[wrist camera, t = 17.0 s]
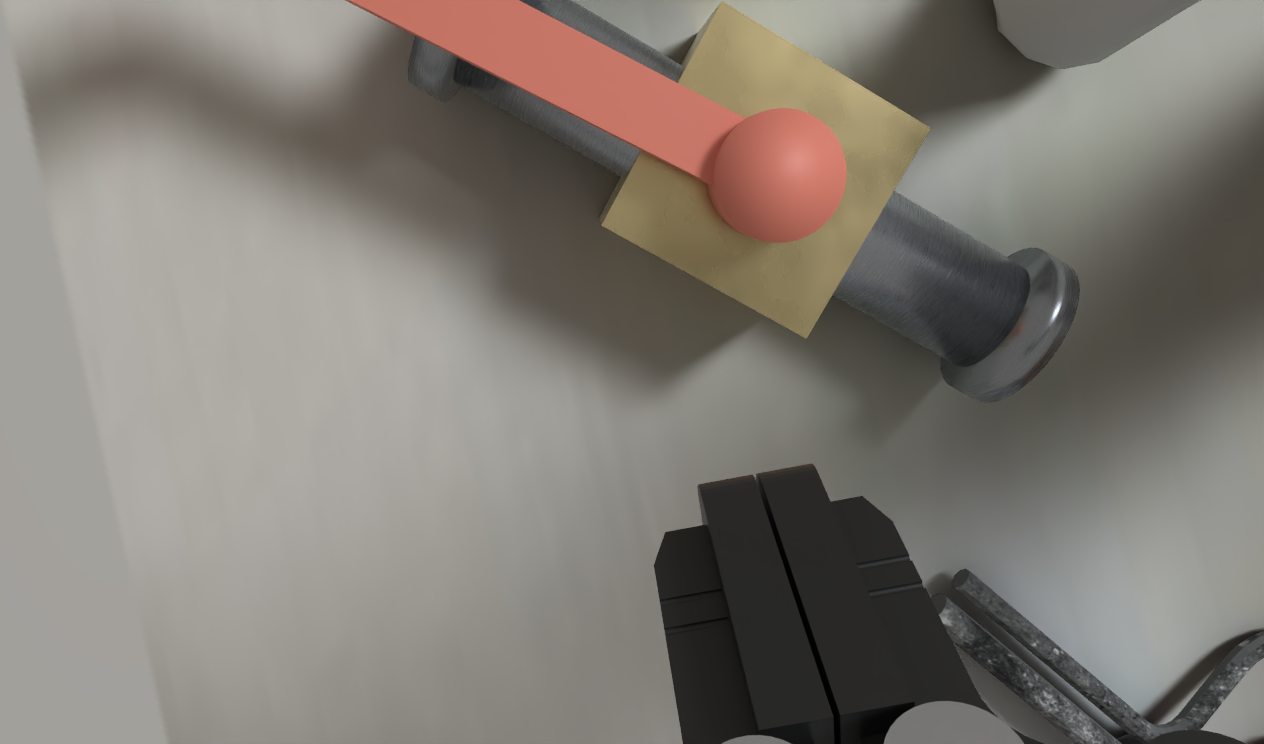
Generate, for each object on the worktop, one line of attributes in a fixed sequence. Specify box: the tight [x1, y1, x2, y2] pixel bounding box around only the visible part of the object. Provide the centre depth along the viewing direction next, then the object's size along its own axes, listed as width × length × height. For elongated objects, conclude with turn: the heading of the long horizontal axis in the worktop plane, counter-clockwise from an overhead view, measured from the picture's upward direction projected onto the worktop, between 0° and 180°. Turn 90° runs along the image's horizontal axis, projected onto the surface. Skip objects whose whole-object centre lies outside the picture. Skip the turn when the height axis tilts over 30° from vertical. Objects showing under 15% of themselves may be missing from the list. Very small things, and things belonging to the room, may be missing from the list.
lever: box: [346, 0, 847, 243], centre depth 24 cm, size 21×4×8 cm, turn 64°
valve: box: [931, 569, 1264, 744], centre depth 40 cm, size 6×26×15 cm
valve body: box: [408, 0, 1080, 403], centre depth 32 cm, size 8×24×6 cm, turn 61°
